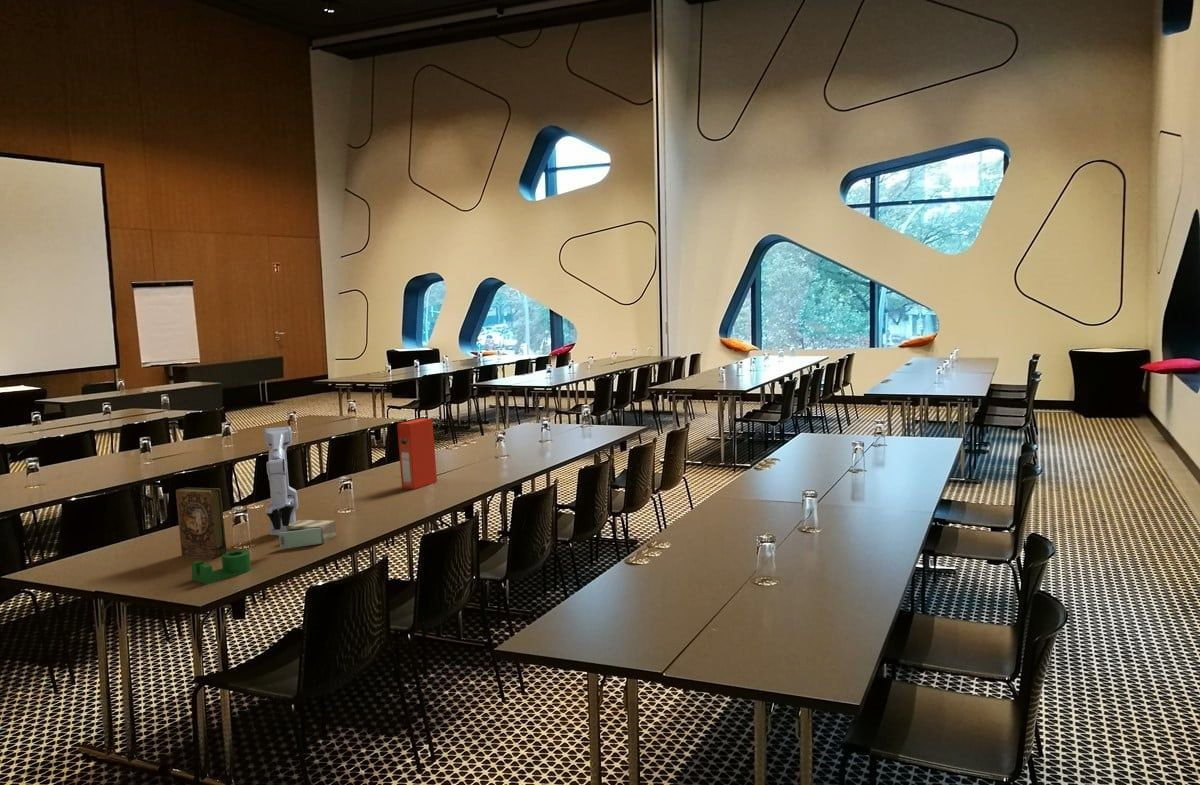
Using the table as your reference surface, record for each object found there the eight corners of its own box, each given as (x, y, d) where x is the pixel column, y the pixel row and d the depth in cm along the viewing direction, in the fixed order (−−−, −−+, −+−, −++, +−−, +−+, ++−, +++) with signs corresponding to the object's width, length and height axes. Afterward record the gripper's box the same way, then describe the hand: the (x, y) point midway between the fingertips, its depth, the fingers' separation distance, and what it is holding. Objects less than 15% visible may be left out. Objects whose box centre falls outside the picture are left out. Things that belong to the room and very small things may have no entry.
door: (280, 549, 330) (278, 534, 329) (280, 548, 332) (278, 532, 331) (323, 543, 335) (322, 528, 335) (323, 542, 337) (322, 527, 337)
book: (179, 557, 328) (172, 490, 325) (190, 552, 333) (183, 487, 330) (216, 558, 323) (210, 491, 320) (227, 554, 328) (220, 488, 325)
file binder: (401, 488, 430) (397, 423, 426) (424, 481, 445) (420, 418, 442) (414, 489, 426) (410, 424, 423) (436, 482, 442) (432, 418, 438)
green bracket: (242, 566, 313) (240, 548, 313) (256, 570, 308) (254, 552, 307) (192, 580, 299) (190, 562, 299) (206, 585, 294) (204, 566, 293)
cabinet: (287, 542, 342) (285, 525, 341) (300, 535, 350) (299, 519, 349) (323, 543, 337) (322, 526, 337) (336, 537, 346) (335, 520, 345)
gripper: (276, 496, 317) (279, 533, 319) (299, 487, 331) (302, 522, 333) (259, 496, 319) (262, 532, 320) (283, 487, 333) (286, 522, 334)
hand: (281, 527), depth 327 cm, fingers open, 5 cm apart
